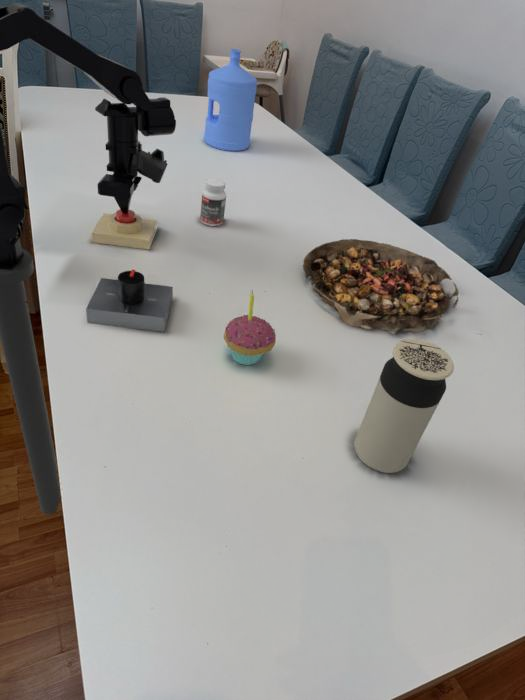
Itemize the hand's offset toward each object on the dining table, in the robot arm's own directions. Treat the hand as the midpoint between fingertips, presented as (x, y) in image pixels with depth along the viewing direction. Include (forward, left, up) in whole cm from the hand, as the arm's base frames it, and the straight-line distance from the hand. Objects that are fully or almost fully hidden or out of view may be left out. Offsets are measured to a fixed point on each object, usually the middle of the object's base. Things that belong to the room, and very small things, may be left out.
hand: (125, 212), depth 107 cm
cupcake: (+28, -37, -6) cm, 47 cm away
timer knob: (+7, -28, -2) cm, 29 cm away
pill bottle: (+18, +13, -6) cm, 23 cm away
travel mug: (+48, -55, -6) cm, 73 cm away
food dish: (+56, -9, -6) cm, 57 cm away
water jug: (+18, +75, -6) cm, 77 cm away
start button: (0, 0, -2) cm, 2 cm away
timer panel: (+7, -28, -5) cm, 29 cm away
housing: (0, 0, -5) cm, 5 cm away
